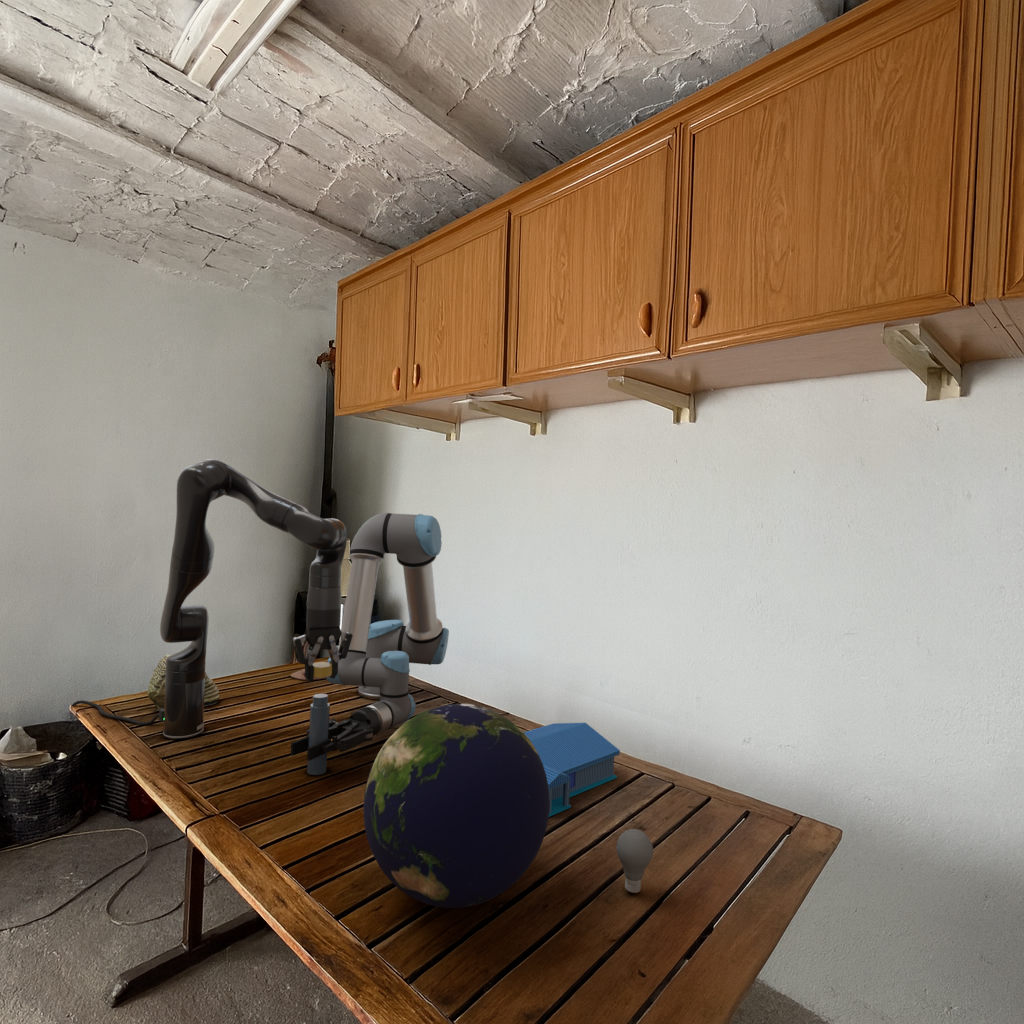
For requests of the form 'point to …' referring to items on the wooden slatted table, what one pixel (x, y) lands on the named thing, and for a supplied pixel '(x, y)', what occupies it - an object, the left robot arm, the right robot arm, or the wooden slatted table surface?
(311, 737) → the grey bottle
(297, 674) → the anatomical model
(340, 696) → the wooden slatted table surface
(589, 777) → the model building
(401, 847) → the globe
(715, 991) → the wooden slatted table surface
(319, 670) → the lid
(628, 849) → the light bulb
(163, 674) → the fossil
